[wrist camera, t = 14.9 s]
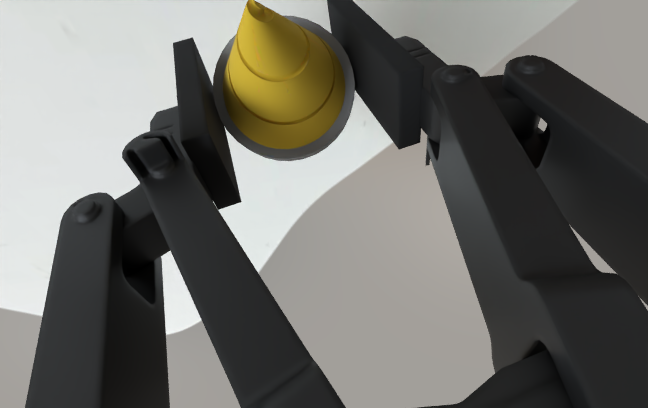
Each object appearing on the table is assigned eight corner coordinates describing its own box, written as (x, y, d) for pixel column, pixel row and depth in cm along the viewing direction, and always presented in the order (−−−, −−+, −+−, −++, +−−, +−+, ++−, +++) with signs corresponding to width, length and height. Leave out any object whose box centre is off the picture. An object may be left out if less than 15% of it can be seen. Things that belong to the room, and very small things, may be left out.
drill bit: (216, 130, 18) (77, 48, 8) (272, 32, 18) (203, -176, 8) (312, 187, 18) (296, 177, 8) (369, 90, 18) (425, -45, 8)
